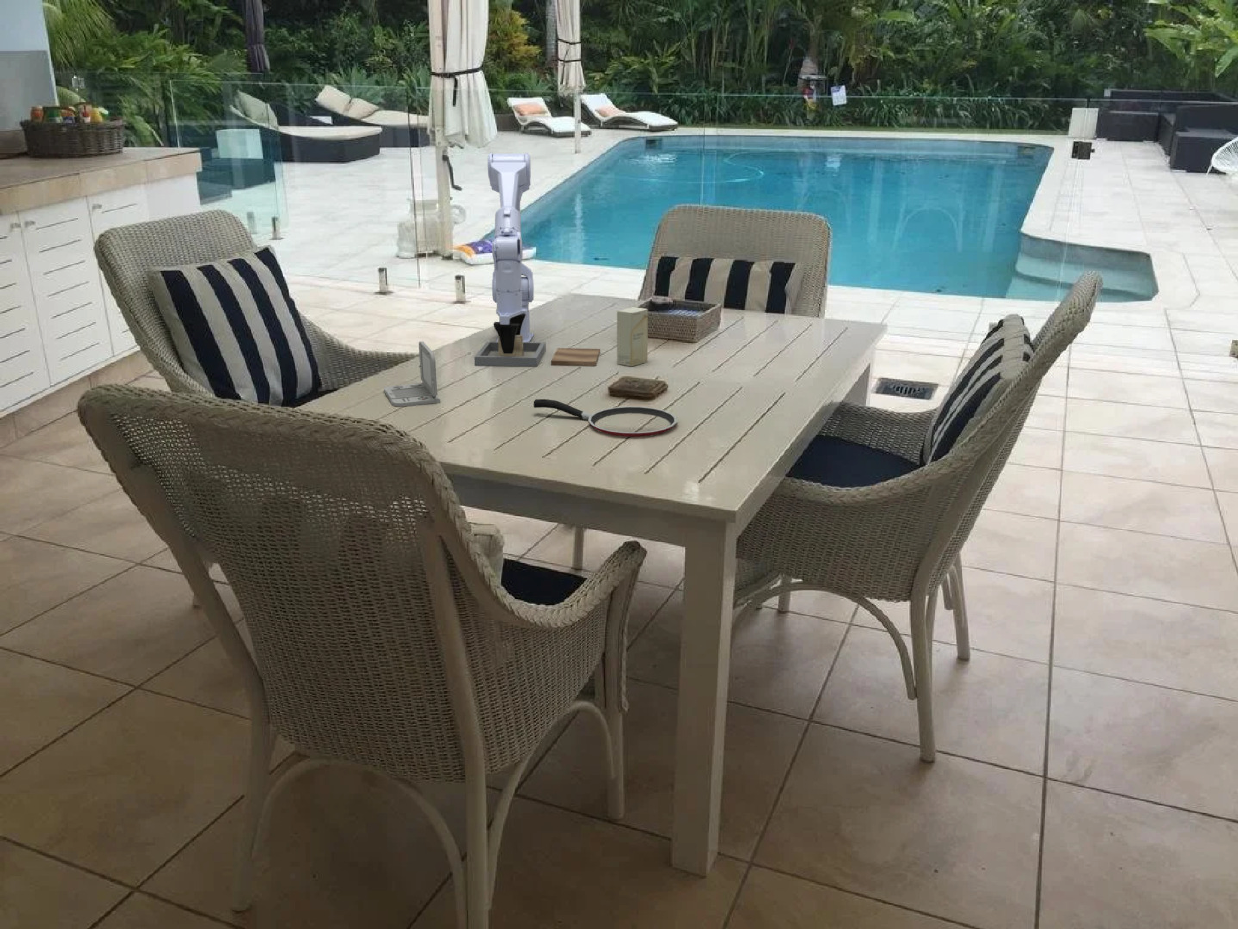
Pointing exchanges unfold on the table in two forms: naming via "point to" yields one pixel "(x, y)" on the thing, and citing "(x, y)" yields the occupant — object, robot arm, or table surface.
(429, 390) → the handheld gaming console
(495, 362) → the grey bin
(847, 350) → the table surface
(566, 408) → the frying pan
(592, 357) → the walnut board
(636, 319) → the skincare box
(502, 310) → the robot arm
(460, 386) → the table surface
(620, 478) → the table surface
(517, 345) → the maple block
